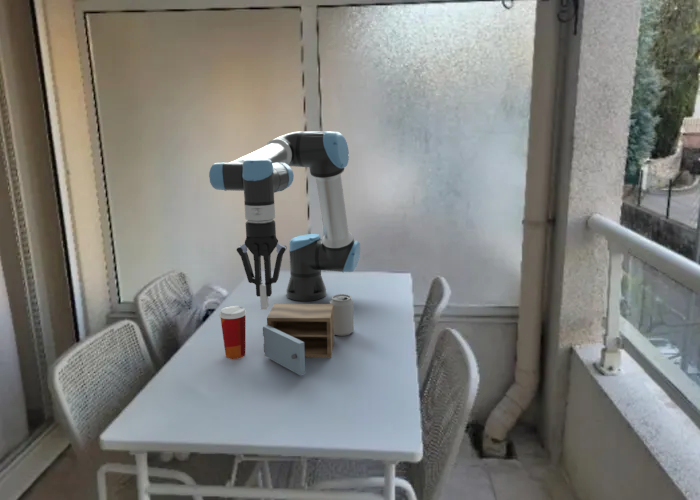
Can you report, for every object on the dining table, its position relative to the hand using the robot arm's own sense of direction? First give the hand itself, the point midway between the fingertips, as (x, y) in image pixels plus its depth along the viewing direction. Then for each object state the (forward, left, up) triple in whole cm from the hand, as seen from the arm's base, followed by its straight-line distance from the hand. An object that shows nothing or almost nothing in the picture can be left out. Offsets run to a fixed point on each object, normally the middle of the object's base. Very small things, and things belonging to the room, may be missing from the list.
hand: (264, 307), depth 151 cm
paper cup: (-10, -11, -19) cm, 24 cm away
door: (-2, +3, -17) cm, 18 cm away
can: (-28, +19, -19) cm, 38 cm away
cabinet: (-15, +8, -18) cm, 25 cm away
